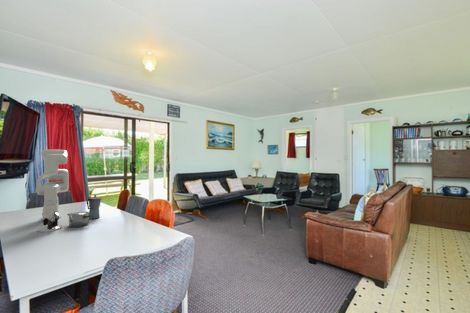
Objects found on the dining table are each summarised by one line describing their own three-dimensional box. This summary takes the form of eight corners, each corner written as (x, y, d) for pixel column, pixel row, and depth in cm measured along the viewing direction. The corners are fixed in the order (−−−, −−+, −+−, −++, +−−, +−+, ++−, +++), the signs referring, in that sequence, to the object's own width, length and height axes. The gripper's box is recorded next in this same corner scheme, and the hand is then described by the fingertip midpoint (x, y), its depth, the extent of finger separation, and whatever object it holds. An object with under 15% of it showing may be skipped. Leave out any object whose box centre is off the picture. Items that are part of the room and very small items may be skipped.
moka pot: (104, 216, 207) (104, 193, 207) (92, 220, 191) (92, 196, 191) (94, 215, 208) (95, 193, 208) (81, 220, 192) (82, 196, 192)
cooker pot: (61, 226, 176) (61, 214, 176) (77, 221, 189) (77, 210, 189) (81, 228, 170) (81, 216, 170) (96, 224, 182) (96, 212, 182)
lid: (33, 231, 165) (33, 222, 165) (54, 225, 178) (54, 217, 178) (46, 233, 160) (46, 224, 160) (66, 227, 174) (66, 219, 174)
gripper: (37, 202, 168) (36, 225, 168) (53, 204, 163) (53, 228, 163) (48, 200, 176) (48, 223, 176) (64, 202, 170) (64, 225, 170)
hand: (50, 225), depth 169 cm, fingers open, 9 cm apart
